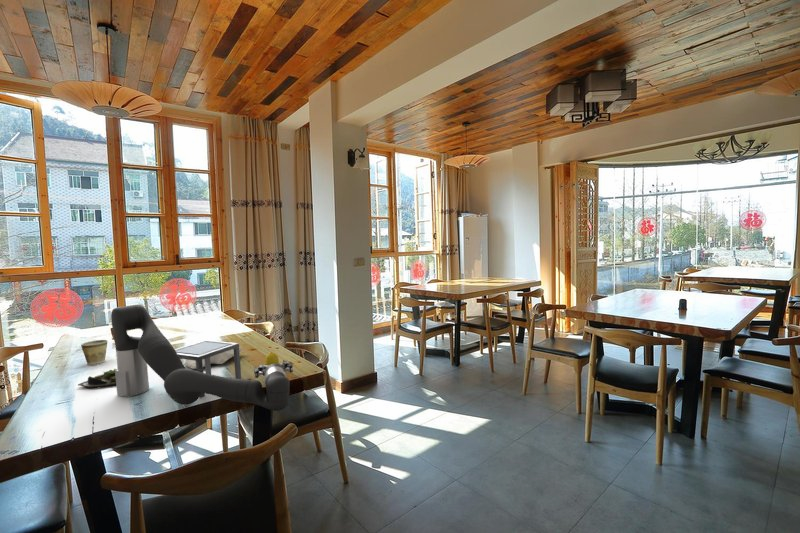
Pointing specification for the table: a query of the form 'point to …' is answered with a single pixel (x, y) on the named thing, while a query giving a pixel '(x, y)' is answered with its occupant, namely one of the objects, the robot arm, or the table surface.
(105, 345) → the ceramic cup
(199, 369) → the trapdoor frame
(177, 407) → the table surface
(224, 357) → the rock
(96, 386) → the salad plate
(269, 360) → the lemon
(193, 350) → the trapdoor
